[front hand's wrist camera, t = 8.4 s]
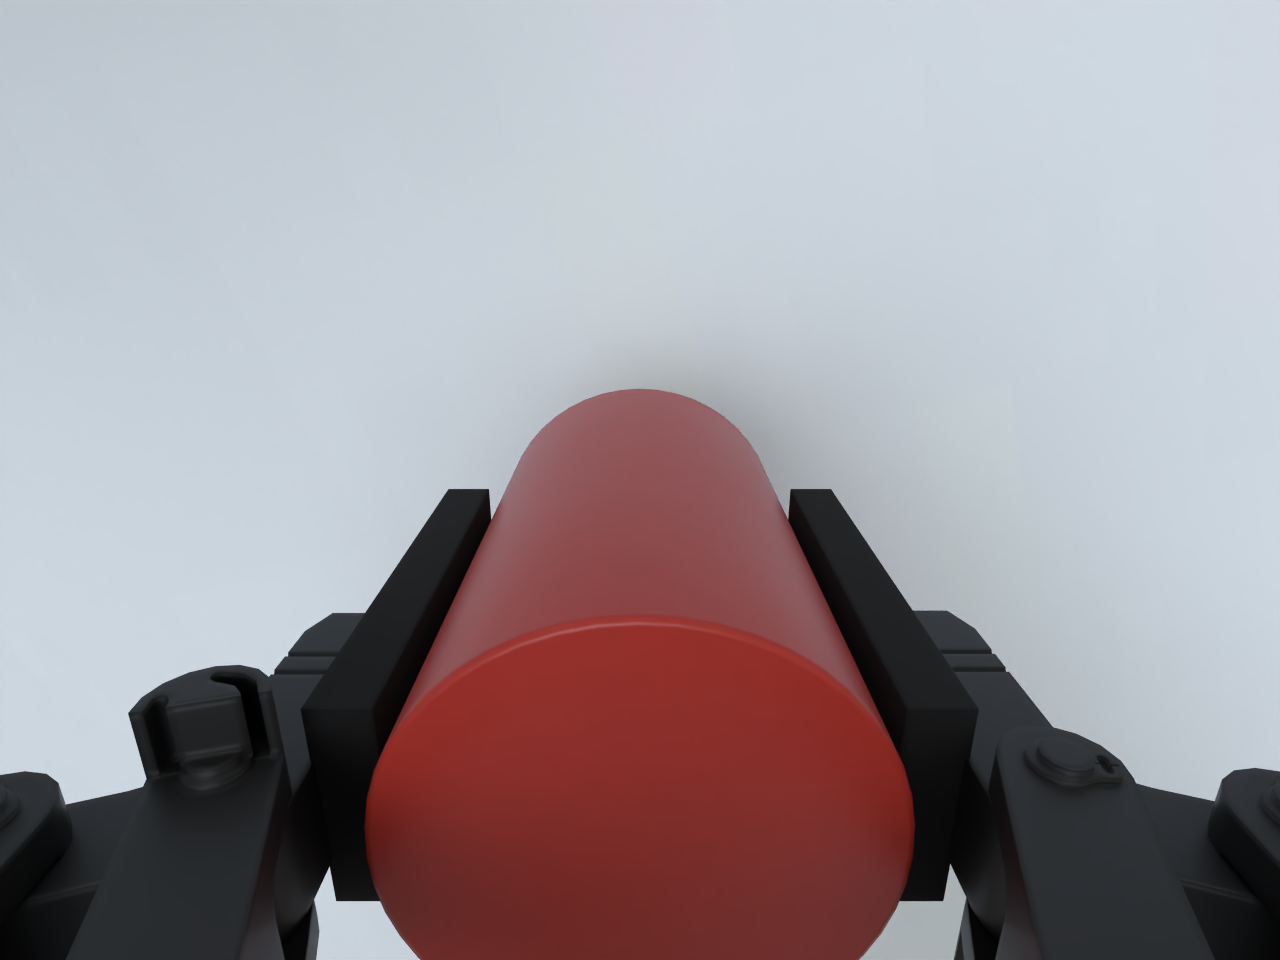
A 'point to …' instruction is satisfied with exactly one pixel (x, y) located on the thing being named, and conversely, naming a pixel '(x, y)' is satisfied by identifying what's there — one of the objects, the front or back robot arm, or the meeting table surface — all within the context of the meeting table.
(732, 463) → the canister
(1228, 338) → the meeting table surface
